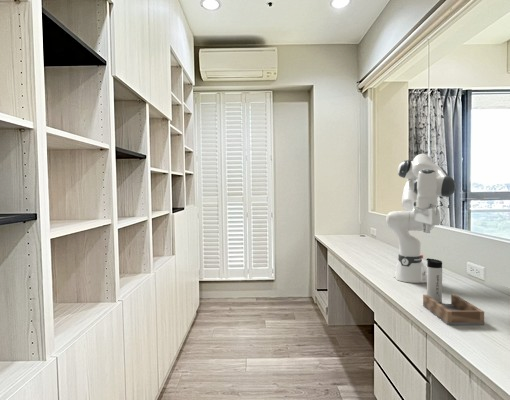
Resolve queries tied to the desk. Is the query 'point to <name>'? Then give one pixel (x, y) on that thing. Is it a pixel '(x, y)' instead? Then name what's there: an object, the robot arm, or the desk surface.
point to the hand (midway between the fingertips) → (426, 232)
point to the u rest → (455, 311)
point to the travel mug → (434, 279)
